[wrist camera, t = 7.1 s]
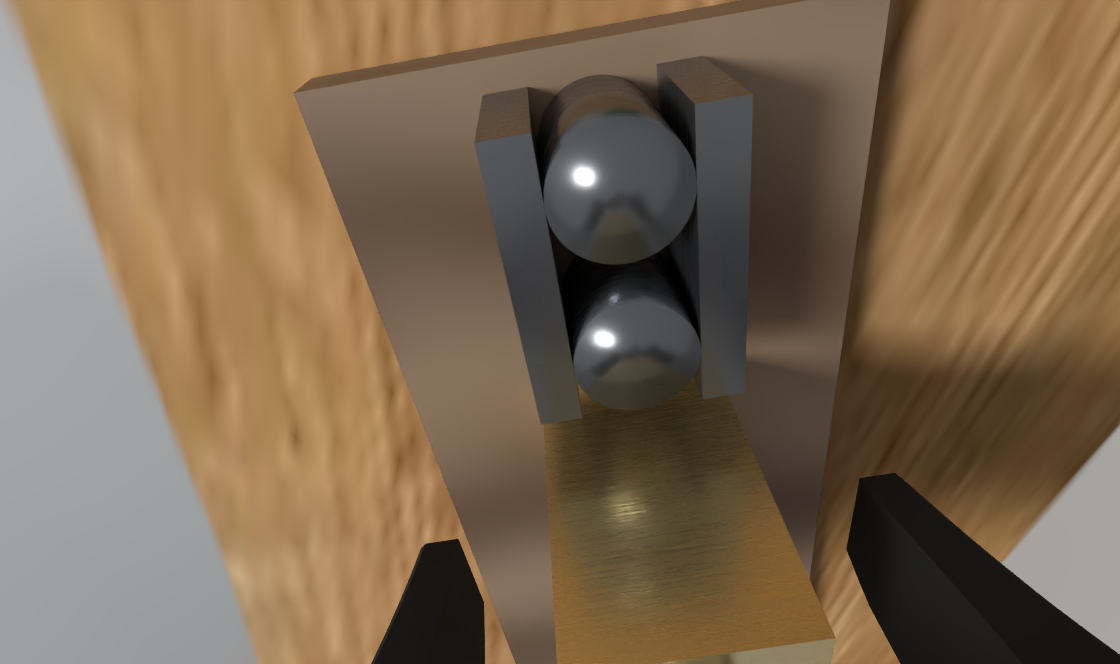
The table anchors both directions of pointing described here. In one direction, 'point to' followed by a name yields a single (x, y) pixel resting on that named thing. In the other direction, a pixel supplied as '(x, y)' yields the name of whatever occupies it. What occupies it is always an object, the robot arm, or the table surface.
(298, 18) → the table surface
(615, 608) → the brushed brass block
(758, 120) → the board
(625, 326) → the steel ball guide
